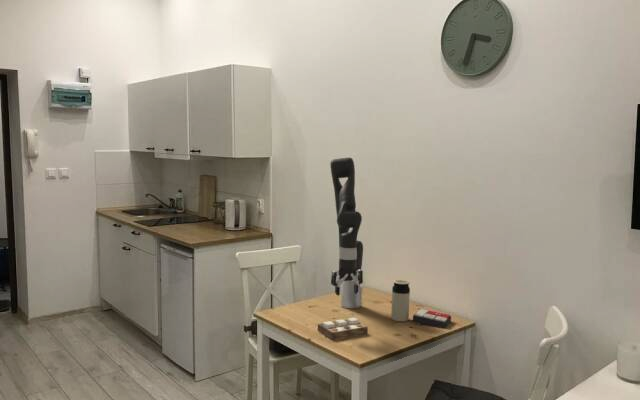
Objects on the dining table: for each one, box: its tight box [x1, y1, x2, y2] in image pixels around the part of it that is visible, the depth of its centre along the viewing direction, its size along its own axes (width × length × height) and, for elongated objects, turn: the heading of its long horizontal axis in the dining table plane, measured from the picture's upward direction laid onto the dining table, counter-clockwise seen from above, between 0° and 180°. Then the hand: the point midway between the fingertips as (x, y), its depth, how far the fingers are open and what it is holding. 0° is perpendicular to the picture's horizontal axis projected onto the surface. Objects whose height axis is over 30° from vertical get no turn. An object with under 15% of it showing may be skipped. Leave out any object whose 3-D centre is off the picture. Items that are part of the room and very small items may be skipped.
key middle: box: [334, 319, 347, 327], centre depth 229 cm, size 4×4×2 cm
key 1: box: [322, 320, 335, 329], centre depth 226 cm, size 4×4×2 cm
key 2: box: [346, 317, 360, 325], centre depth 232 cm, size 4×4×2 cm
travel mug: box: [390, 278, 411, 323], centre depth 247 cm, size 8×8×18 cm
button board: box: [317, 319, 369, 341], centre depth 228 cm, size 18×12×3 cm
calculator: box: [412, 308, 452, 329], centre depth 245 cm, size 11×4×15 cm
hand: (346, 294), depth 232 cm, fingers open, 8 cm apart
